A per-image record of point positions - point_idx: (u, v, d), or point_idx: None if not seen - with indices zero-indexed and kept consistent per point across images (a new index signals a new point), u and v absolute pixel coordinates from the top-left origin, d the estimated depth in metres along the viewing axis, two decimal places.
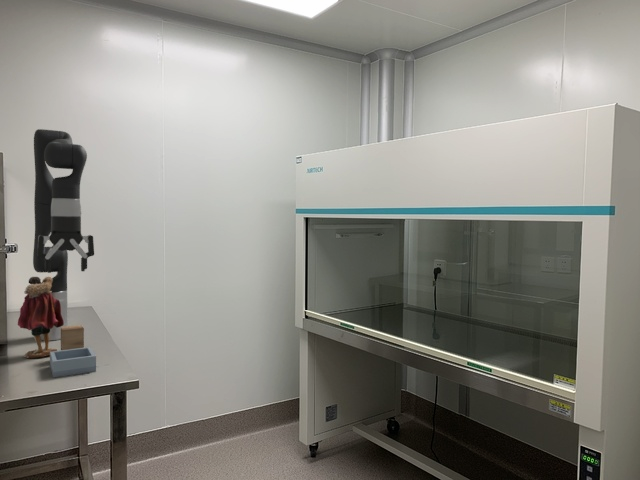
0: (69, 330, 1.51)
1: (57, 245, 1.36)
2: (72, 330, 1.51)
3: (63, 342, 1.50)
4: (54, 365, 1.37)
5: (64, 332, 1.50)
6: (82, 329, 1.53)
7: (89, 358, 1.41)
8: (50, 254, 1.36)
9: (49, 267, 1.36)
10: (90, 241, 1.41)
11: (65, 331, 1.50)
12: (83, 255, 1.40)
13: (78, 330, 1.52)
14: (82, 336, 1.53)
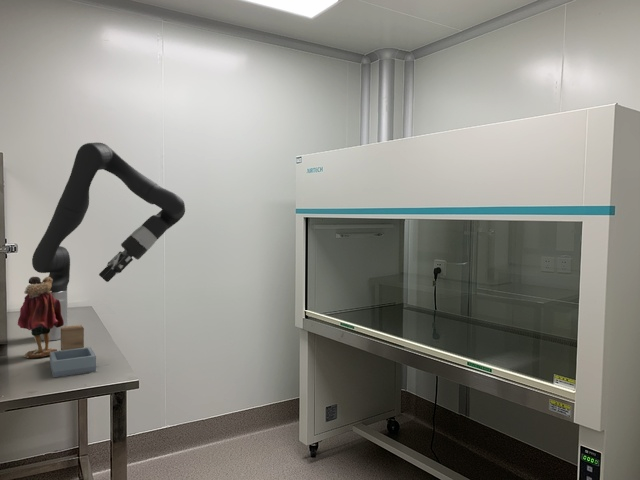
0: (69, 330, 1.51)
1: None
2: (72, 330, 1.51)
3: (63, 342, 1.50)
4: (54, 365, 1.37)
5: (64, 332, 1.50)
6: (82, 329, 1.53)
7: (89, 358, 1.41)
8: None
9: (111, 278, 1.56)
10: None
11: (65, 331, 1.50)
12: None
13: (78, 330, 1.52)
14: (82, 336, 1.53)
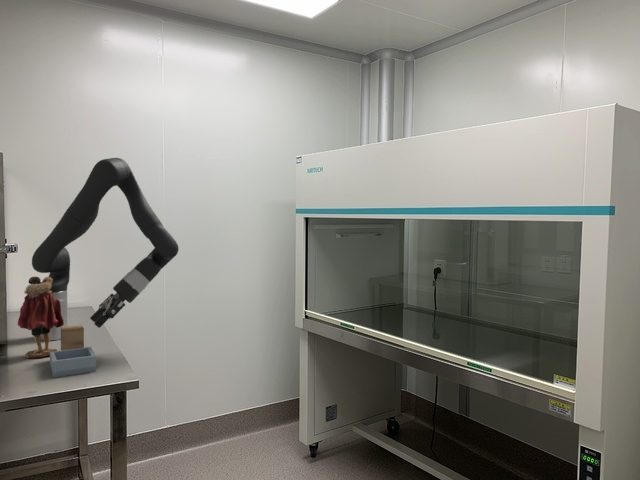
0: (69, 330, 1.51)
1: None
2: (72, 330, 1.51)
3: (63, 342, 1.50)
4: (54, 365, 1.37)
5: (64, 332, 1.50)
6: (82, 329, 1.53)
7: (89, 358, 1.41)
8: None
9: None
10: None
11: (65, 331, 1.50)
12: None
13: (78, 330, 1.52)
14: (82, 336, 1.53)
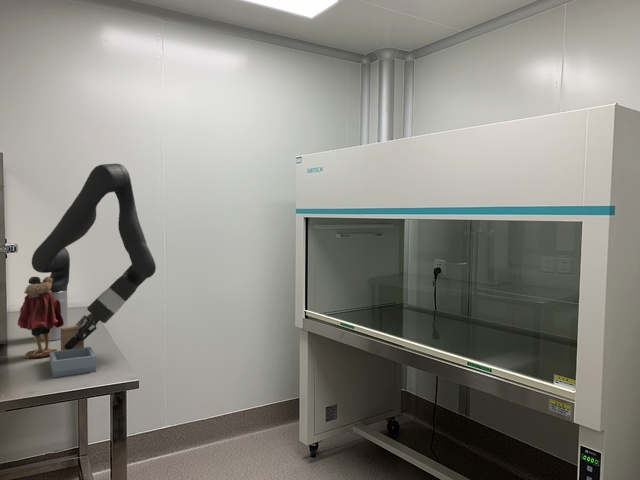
0: (69, 330, 1.51)
1: None
2: (72, 330, 1.51)
3: (63, 342, 1.50)
4: (54, 365, 1.37)
5: (64, 332, 1.50)
6: (82, 329, 1.53)
7: (89, 358, 1.41)
8: None
9: None
10: None
11: (65, 331, 1.50)
12: None
13: None
14: None
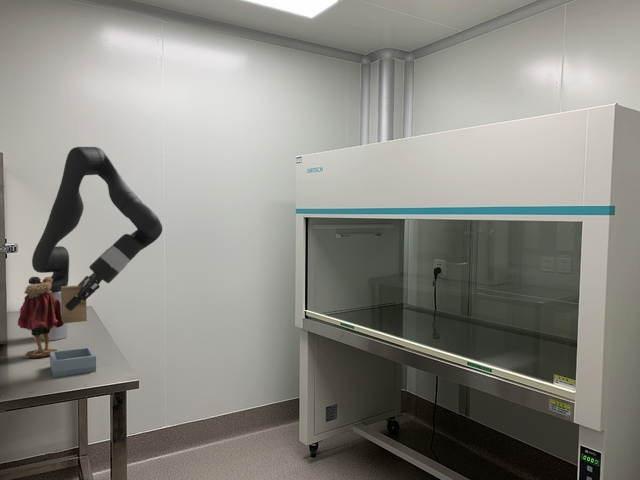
0: (70, 289, 1.41)
1: None
2: (74, 289, 1.41)
3: (64, 302, 1.40)
4: (54, 365, 1.37)
5: (65, 291, 1.40)
6: None
7: (89, 358, 1.41)
8: None
9: (74, 307, 1.41)
10: None
11: (66, 290, 1.40)
12: None
13: None
14: None
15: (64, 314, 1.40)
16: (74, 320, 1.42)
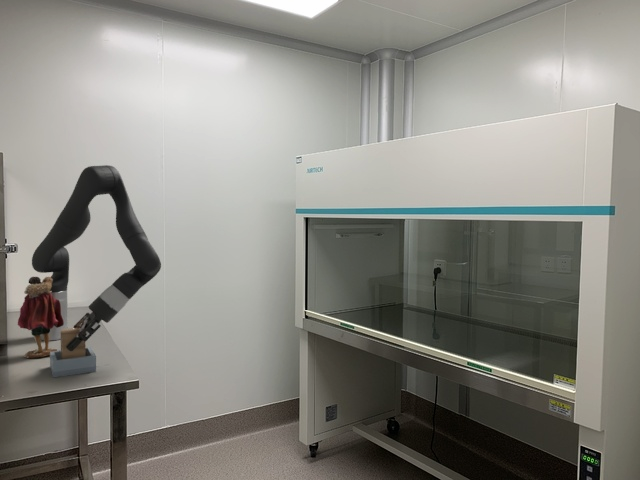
0: (70, 333, 1.41)
1: None
2: (73, 333, 1.42)
3: (63, 346, 1.40)
4: (54, 365, 1.37)
5: (64, 335, 1.40)
6: None
7: (89, 358, 1.41)
8: None
9: (75, 347, 1.41)
10: None
11: (65, 334, 1.41)
12: None
13: None
14: None
15: (63, 358, 1.41)
16: None
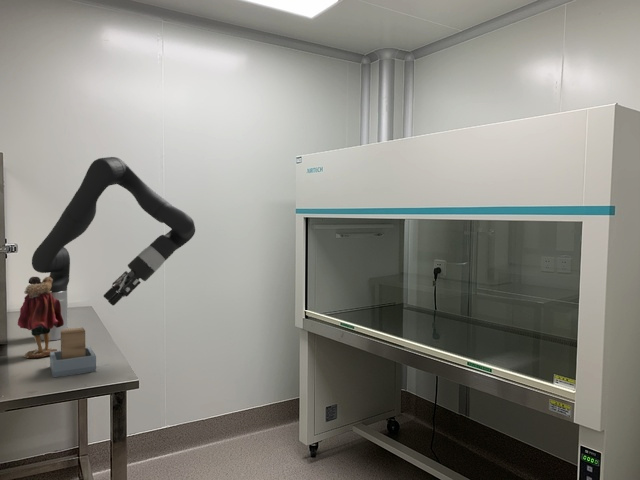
0: (70, 333, 1.41)
1: None
2: (73, 333, 1.42)
3: (63, 346, 1.40)
4: (54, 365, 1.37)
5: (64, 335, 1.40)
6: (83, 332, 1.43)
7: (89, 358, 1.41)
8: None
9: None
10: None
11: (65, 334, 1.41)
12: None
13: (79, 333, 1.42)
14: (83, 339, 1.43)
15: (63, 358, 1.41)
16: None
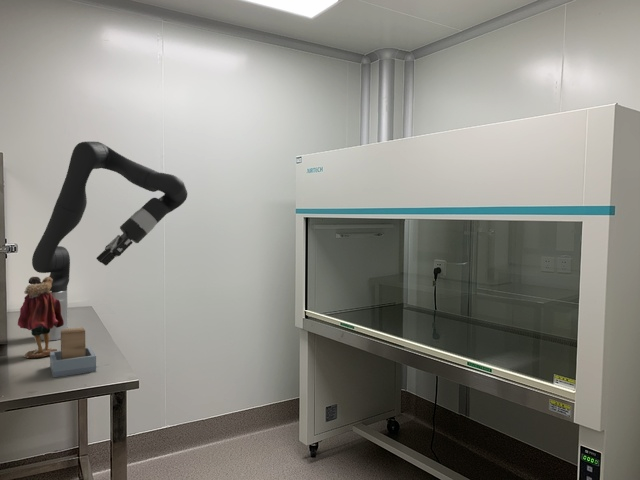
0: (70, 333, 1.41)
1: None
2: (73, 333, 1.42)
3: (63, 346, 1.40)
4: (54, 365, 1.37)
5: (64, 335, 1.40)
6: (83, 332, 1.43)
7: (89, 358, 1.41)
8: None
9: (109, 262, 1.50)
10: None
11: (65, 334, 1.41)
12: None
13: (79, 333, 1.42)
14: (83, 339, 1.43)
15: (63, 358, 1.41)
16: None
